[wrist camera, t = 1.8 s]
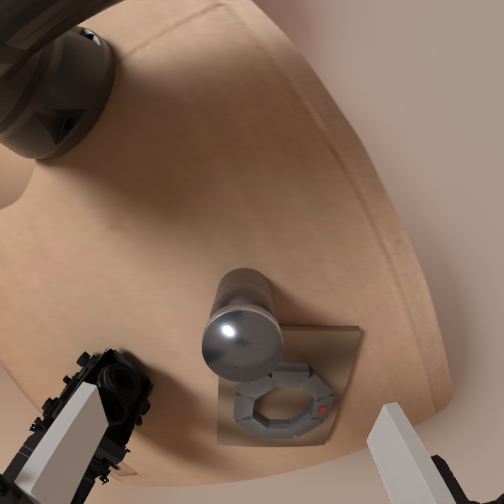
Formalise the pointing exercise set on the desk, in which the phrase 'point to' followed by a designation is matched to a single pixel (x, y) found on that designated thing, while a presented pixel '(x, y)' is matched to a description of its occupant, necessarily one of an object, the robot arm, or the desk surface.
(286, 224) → the desk surface
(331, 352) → the mount board
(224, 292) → the lens
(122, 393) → the camera
